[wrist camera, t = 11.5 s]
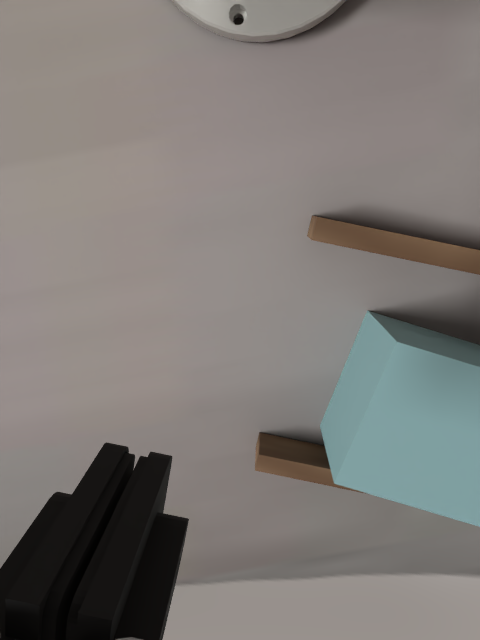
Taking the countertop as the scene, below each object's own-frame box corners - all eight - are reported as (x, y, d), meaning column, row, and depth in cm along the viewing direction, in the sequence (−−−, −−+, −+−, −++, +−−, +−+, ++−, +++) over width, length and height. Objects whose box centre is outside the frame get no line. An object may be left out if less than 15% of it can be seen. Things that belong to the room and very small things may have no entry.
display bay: (312, 215, 23) (317, 216, 21) (620, 278, 23) (661, 288, 21) (255, 447, 28) (255, 470, 25) (512, 500, 28) (536, 528, 25)
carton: (366, 309, 25) (396, 341, 19) (547, 365, 25) (630, 413, 19) (319, 424, 27) (334, 483, 22) (484, 473, 28) (542, 545, 22)
